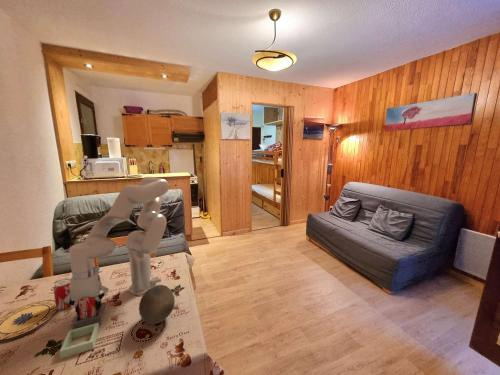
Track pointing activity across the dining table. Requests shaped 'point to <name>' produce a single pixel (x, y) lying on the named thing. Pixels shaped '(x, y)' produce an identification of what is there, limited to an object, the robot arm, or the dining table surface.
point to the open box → (82, 329)
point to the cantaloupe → (156, 304)
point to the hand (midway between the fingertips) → (89, 310)
